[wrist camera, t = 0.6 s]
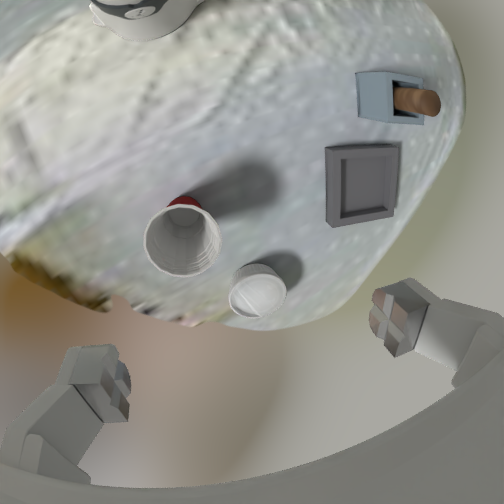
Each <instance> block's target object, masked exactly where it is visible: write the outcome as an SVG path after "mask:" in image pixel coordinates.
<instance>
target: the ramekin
mask: <svg viewBox="0 0 504 504" xmlns="http://www.w3.org/2000/svg"><path fill="white" fill-rule="evenodd" d="M286 294H287V289H286V285H285V283H284V281H283V280H282V278H281V277H279V276H278V275H277V274H276V272H275V271H274V270H273V269H271V268H270V267H269V266H266V265H263V264H250V265H246V266H244V267H242V268H241V269H239V270H238V271H237V272H236V273H235V274H234V276H233V277H232V279H231V283H230V291H229V295H228V300H229V304H230V307H231V308H232V310H233V311H234V312H235V313H237V314H238V315H240V316H243V317H247V318H260V317H264V316H267V315H269V314H271V313H273V312H274V311H276V310H277V309H278V308H279V307H280V306H281V305H282V304H283V302H284V300H285V298H286Z"/></svg>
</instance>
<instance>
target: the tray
mask: <svg viewBox="0 0 504 504" xmlns="http://www.w3.org/2000/svg"><path fill="white" fill-rule="evenodd" d="M398 155H399V147H396V146H393V145H390V144H380V145H355V146H338V147H325V168H326V222H327V223H328V224H329V225H330V226H331V227H332V228H335V227H340V226H345V225H351V224H356V223H361V222H367V221H372V220H377V219H383V218H388V217H393V215H394V207H395V197H396V186H397V173H398Z"/></svg>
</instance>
